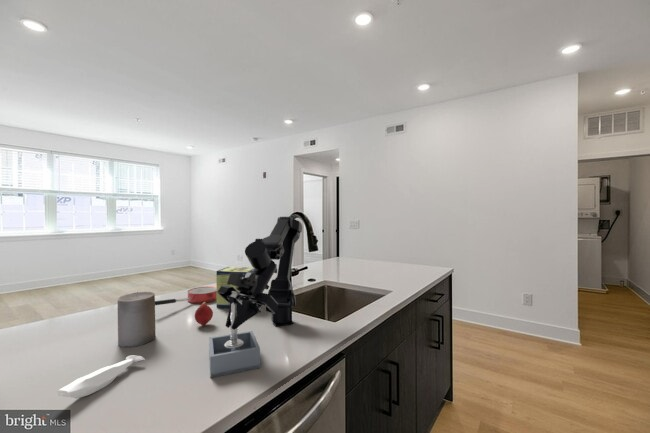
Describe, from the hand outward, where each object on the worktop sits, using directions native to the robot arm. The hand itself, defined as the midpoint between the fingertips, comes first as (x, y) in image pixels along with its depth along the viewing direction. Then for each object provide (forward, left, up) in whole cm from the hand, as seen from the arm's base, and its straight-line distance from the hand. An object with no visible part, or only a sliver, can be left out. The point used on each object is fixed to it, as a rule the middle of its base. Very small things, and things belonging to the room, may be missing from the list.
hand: (229, 327), depth 75 cm
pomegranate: (+6, -31, -9) cm, 33 cm away
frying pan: (+12, -57, -10) cm, 59 cm away
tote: (-1, -1, -9) cm, 9 cm away
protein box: (-8, -50, -10) cm, 51 cm away
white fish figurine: (+27, -2, -10) cm, 29 cm away
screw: (-1, -1, -7) cm, 7 cm away
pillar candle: (+25, -26, -10) cm, 37 cm away
